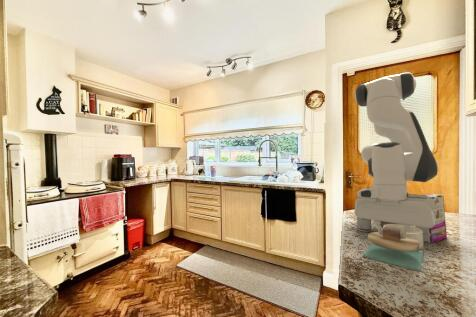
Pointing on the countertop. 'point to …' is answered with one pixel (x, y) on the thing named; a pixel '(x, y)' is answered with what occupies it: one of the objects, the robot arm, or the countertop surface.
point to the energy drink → (364, 225)
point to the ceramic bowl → (410, 233)
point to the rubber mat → (395, 257)
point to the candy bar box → (436, 221)
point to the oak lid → (393, 240)
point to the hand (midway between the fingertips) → (391, 236)
